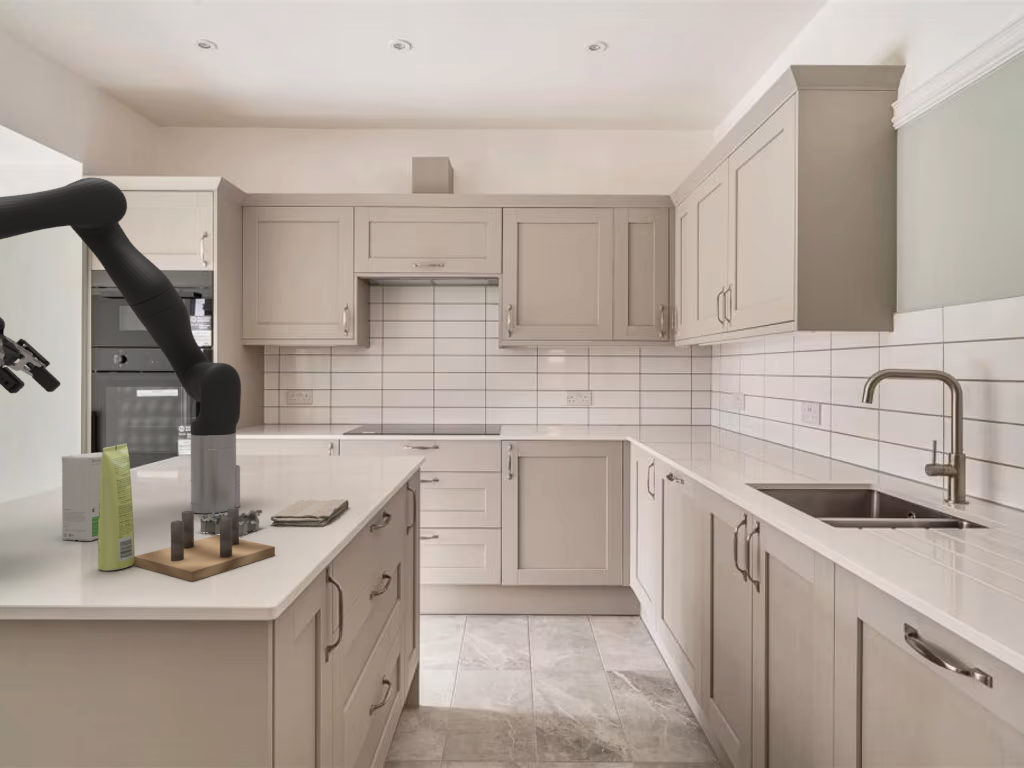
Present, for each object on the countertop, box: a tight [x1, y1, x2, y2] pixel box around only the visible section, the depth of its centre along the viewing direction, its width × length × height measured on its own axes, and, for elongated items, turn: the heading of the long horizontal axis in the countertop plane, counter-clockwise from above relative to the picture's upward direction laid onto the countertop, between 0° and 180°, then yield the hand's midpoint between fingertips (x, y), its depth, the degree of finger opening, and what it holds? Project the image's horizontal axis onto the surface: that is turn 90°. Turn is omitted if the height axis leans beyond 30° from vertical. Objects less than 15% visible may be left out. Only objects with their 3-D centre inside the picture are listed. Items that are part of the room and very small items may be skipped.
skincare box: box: [61, 451, 103, 542], centre depth 115 cm, size 8×7×16 cm
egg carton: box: [196, 509, 263, 536], centre depth 119 cm, size 11×8×4 cm
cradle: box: [133, 507, 276, 582], centre depth 100 cm, size 15×15×8 cm
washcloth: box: [270, 499, 350, 528], centre depth 131 cm, size 12×18×3 cm, turn 1°
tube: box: [97, 443, 136, 572], centre depth 97 cm, size 6×5×20 cm
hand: (38, 389), depth 95 cm, fingers open, 8 cm apart
